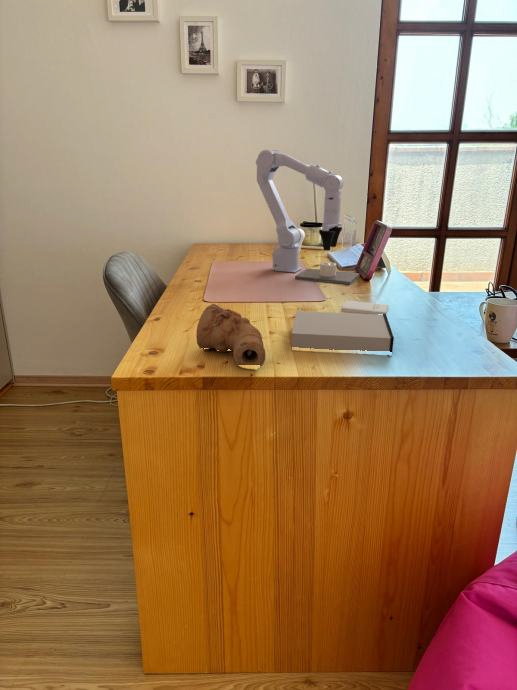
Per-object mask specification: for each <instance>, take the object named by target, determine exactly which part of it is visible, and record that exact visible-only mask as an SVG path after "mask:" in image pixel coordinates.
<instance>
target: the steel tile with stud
mask: <svg viewBox="0 0 517 690" xmlns="http://www.w3.org/2000/svg"><path fill="white" fill-rule="evenodd" d="M326 265H331V264H330V263H327V264H326ZM359 277H360V273H358V272H347V271H339V270H336V275H335V276H332V277H326V276H321V275H320V269H317V268H306V269H304V270H302V271H301V272H299V273H298V274H296V275H295V276H294V280H302V281H310V282H311V281H312V282H319V283H320V282H322V283H329V284H331V283H333V284H339V285H340V284H341V285H352V284H353V283H354V282H356V280H357V279H358V278H359Z"/></svg>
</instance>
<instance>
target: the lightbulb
mask: <svg viewBox="0 0 517 690" xmlns="http://www.w3.org/2000/svg"><path fill="white" fill-rule="evenodd" d="M296 228H297V229H299V230H300V232H301V239H300V241H299V242H298V244H299V253H301V249H302V243H303V242H304V240H305V237H306V233H305V231H304V229H302V228H298V227H296Z"/></svg>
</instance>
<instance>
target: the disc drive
mask: <svg viewBox="0 0 517 690" xmlns="http://www.w3.org/2000/svg"><path fill="white" fill-rule="evenodd" d="M394 338H395V337H394V334H393V331H392V328H391V326H390V322H389V319H388V317H387V314H383V315H378V314H366V313H356V312H331V311H329V312H328V311H308V310H307V311H302V310H296V311H295V317H294V321H293V325H292V331H291V343H290V344H291V347H299V348H310V349H311V348H314V349H329V350H333V349H334V350H360V351H361V350H362V351H365V350H367V351H390V352H392V353H393V350H394V348H393V347H394V342H395V341H394V340H395V339H394Z"/></svg>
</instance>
